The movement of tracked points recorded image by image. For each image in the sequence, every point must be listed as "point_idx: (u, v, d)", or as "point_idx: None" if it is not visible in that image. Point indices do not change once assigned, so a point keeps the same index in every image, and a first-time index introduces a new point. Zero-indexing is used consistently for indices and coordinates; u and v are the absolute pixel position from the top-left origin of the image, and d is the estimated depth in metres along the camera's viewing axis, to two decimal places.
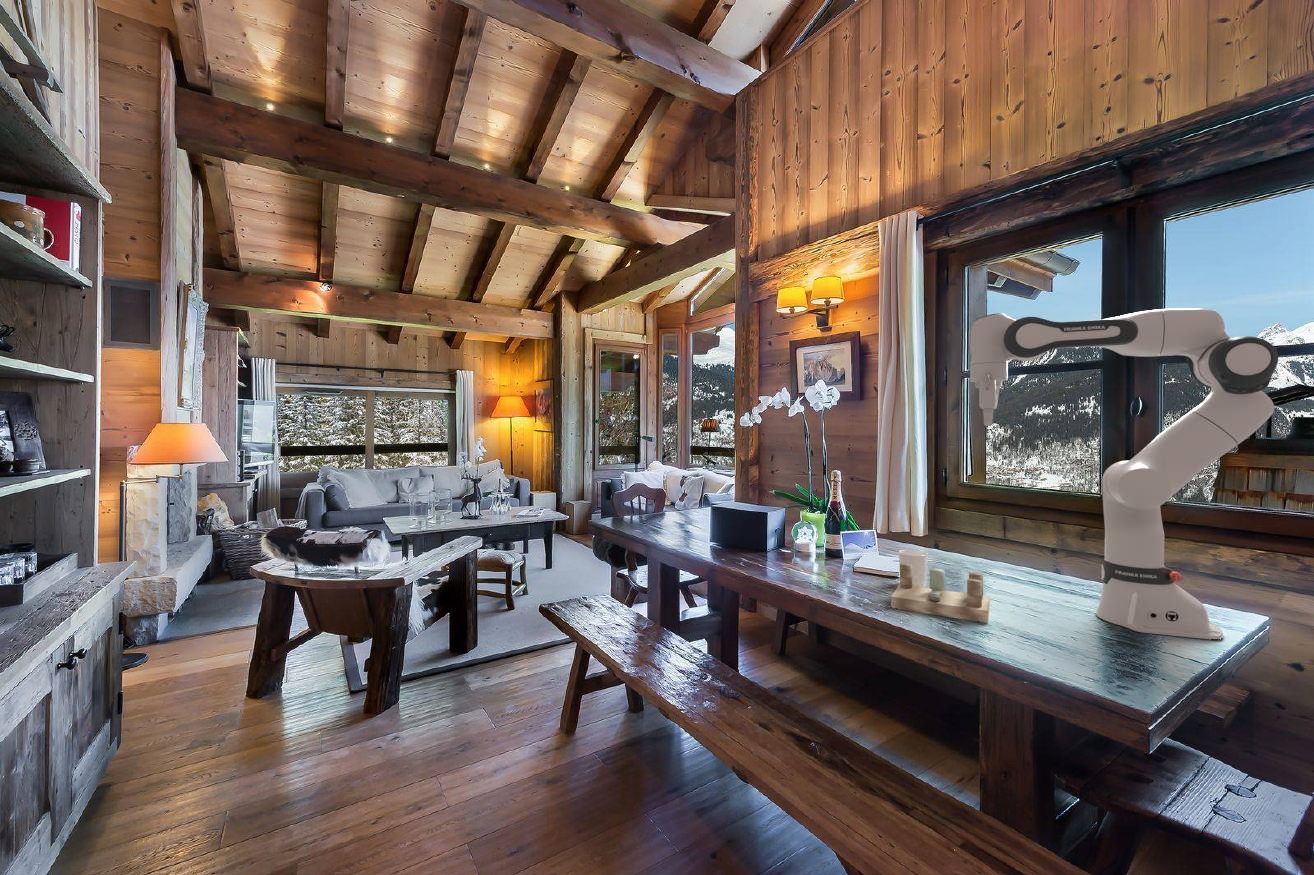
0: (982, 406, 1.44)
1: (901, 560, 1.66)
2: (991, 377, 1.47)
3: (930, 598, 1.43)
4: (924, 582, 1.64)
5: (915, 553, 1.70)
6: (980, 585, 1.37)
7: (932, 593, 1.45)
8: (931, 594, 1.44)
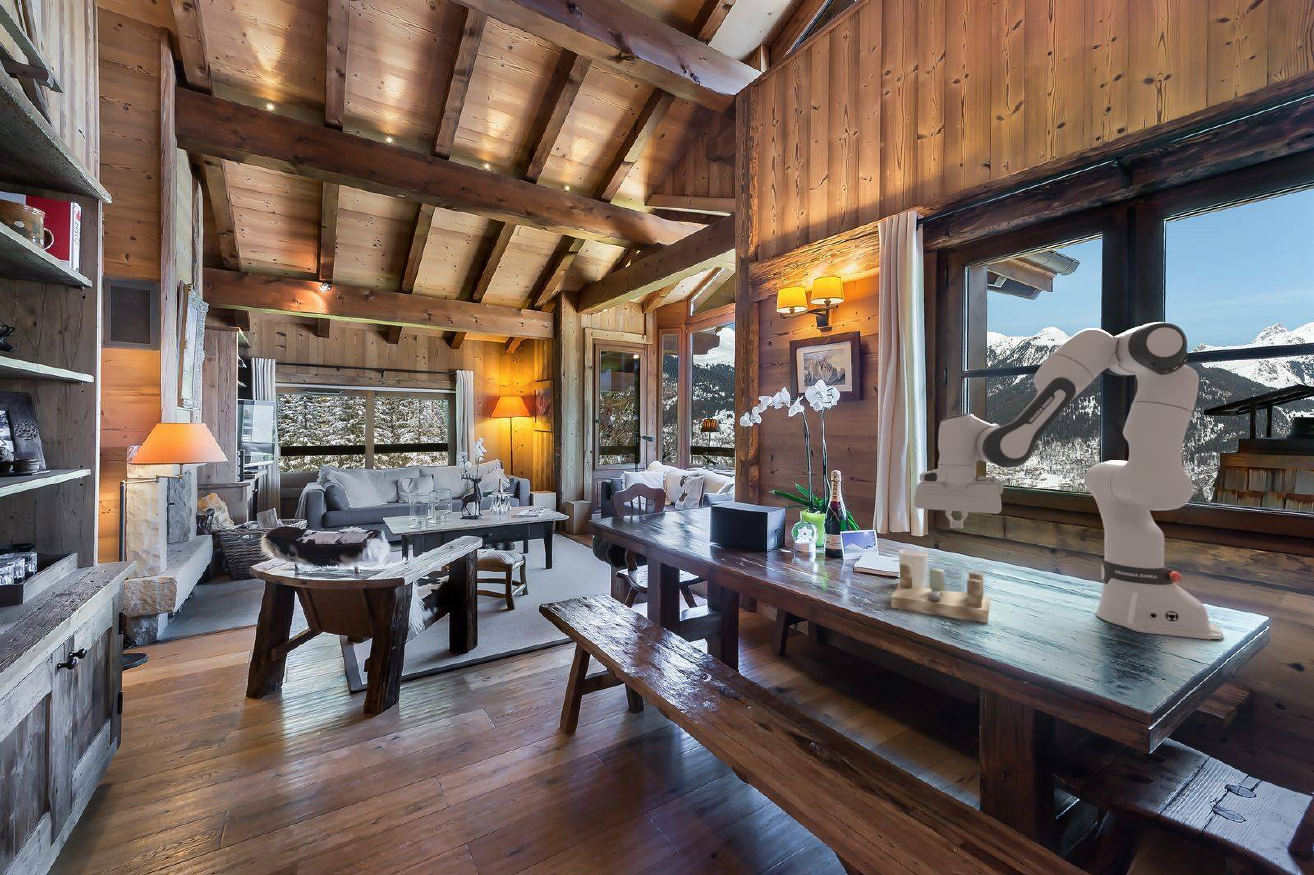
0: None
1: (901, 560, 1.66)
2: None
3: (930, 598, 1.43)
4: (924, 582, 1.64)
5: (915, 553, 1.70)
6: (980, 585, 1.37)
7: (932, 593, 1.45)
8: (931, 594, 1.44)
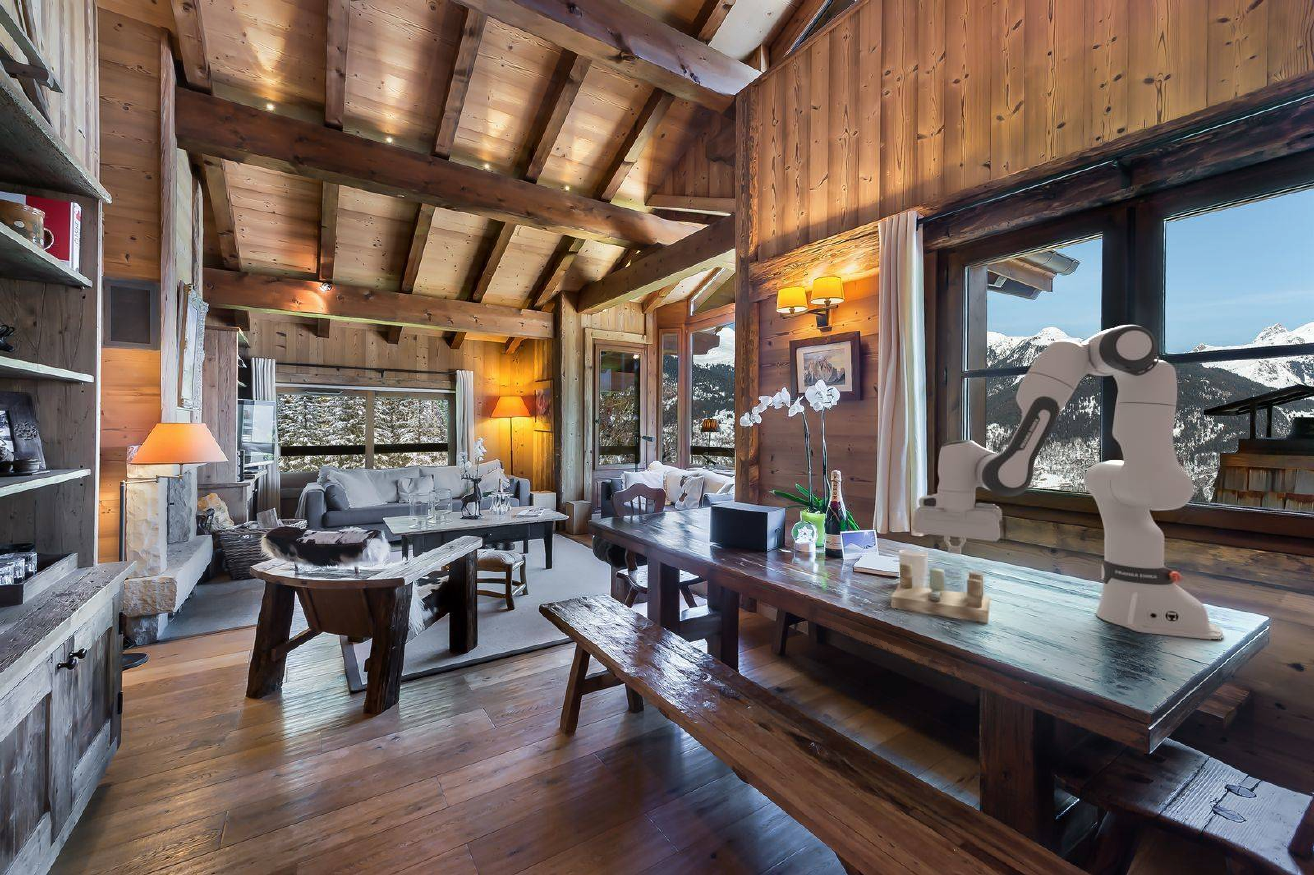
0: (997, 539, 1.40)
1: (901, 560, 1.66)
2: None
3: (930, 598, 1.43)
4: (924, 582, 1.64)
5: (915, 553, 1.70)
6: (980, 585, 1.37)
7: (932, 593, 1.45)
8: (931, 594, 1.44)
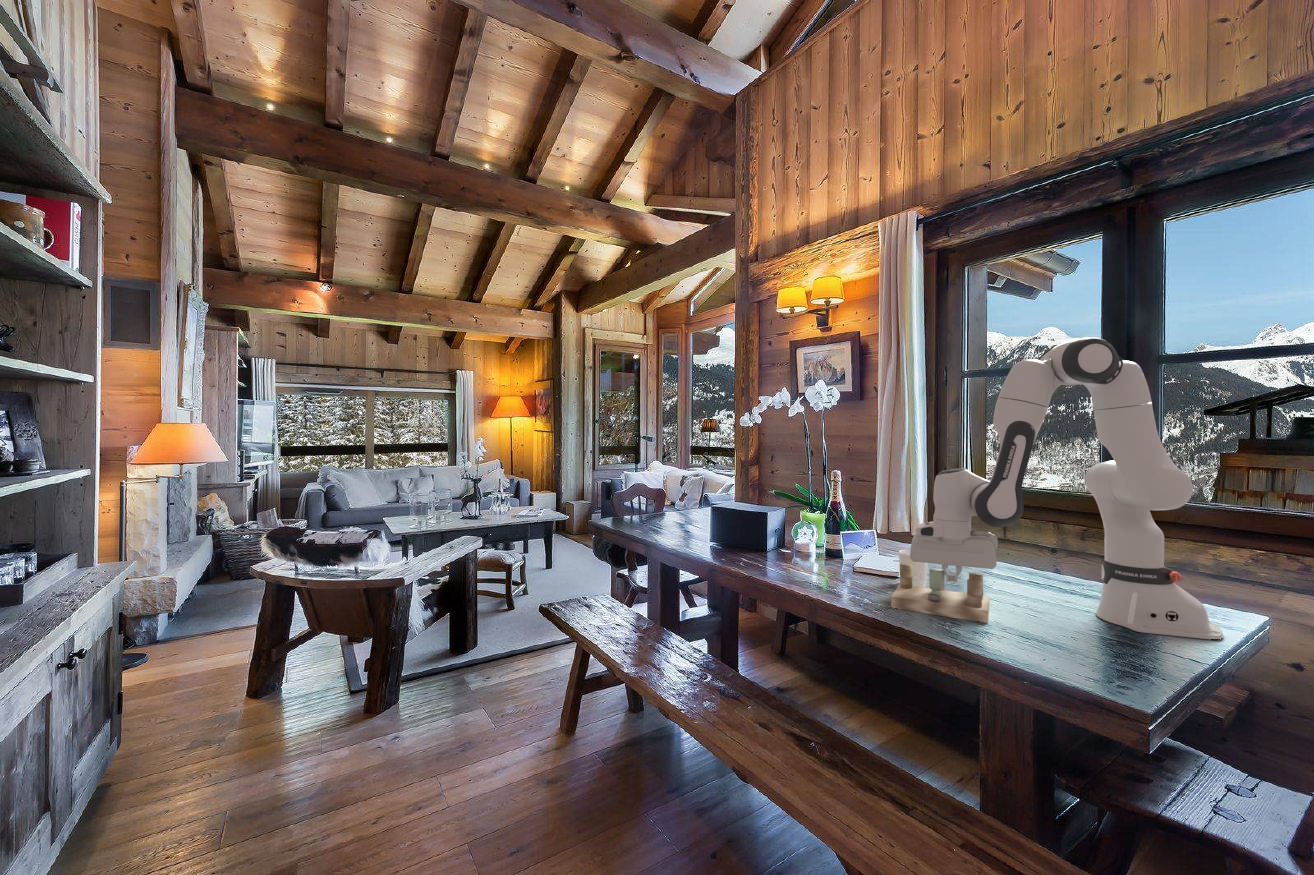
0: (994, 567, 1.42)
1: (901, 560, 1.66)
2: None
3: (930, 598, 1.43)
4: (924, 582, 1.64)
5: None
6: (980, 585, 1.37)
7: (932, 593, 1.45)
8: (931, 594, 1.44)
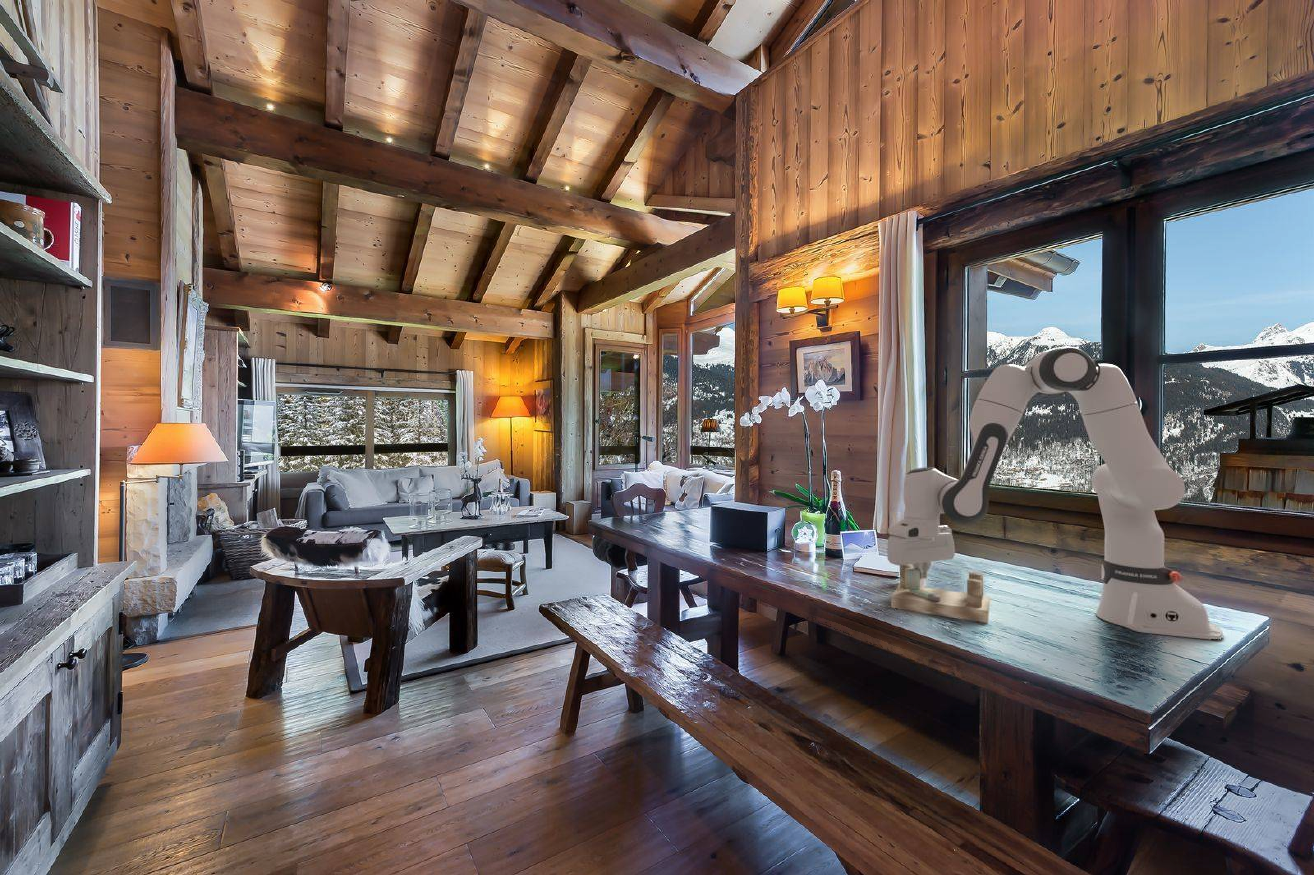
0: None
1: None
2: None
3: (935, 599, 1.42)
4: (924, 582, 1.64)
5: None
6: (980, 585, 1.37)
7: (927, 593, 1.44)
8: (930, 595, 1.43)
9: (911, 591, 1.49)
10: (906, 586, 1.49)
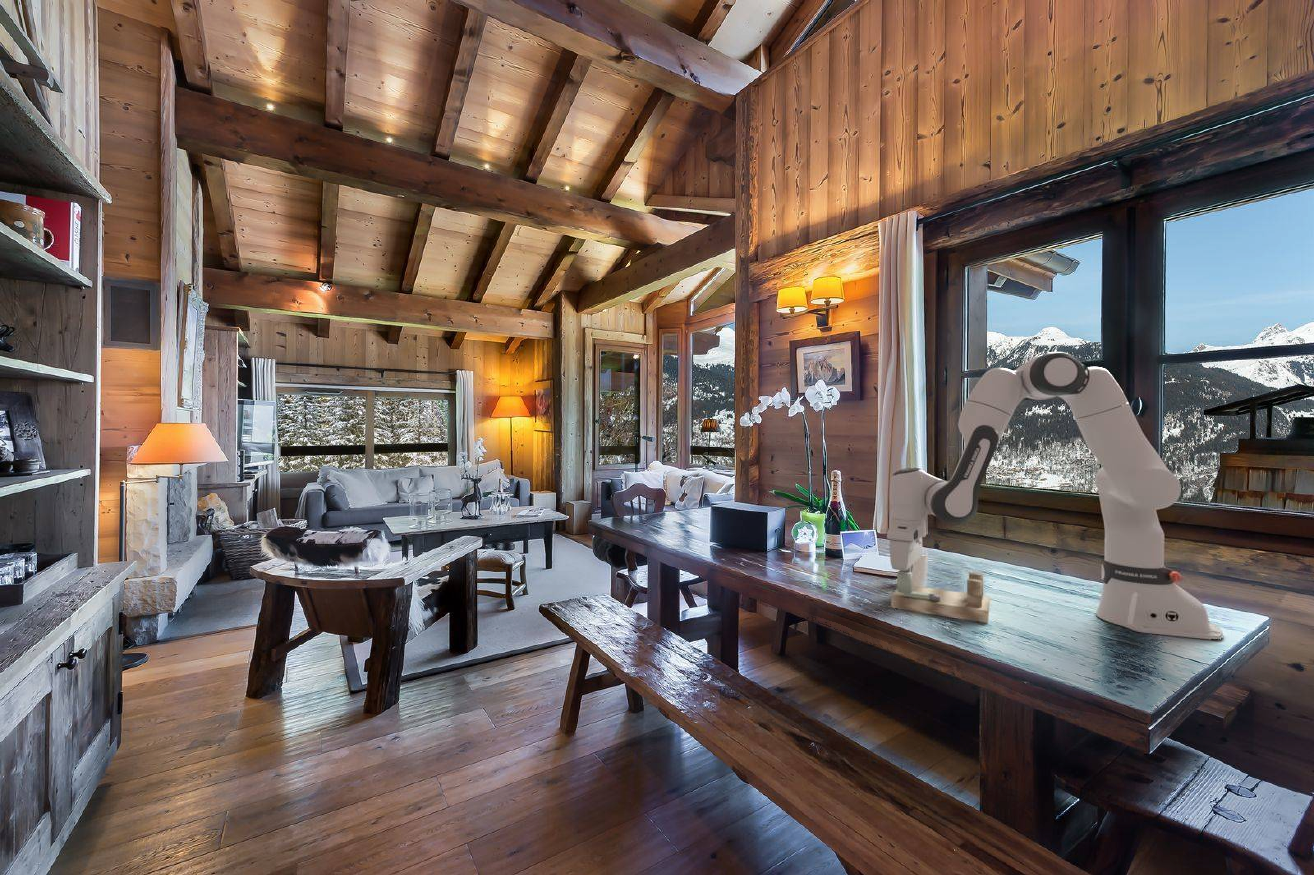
0: None
1: None
2: None
3: (938, 599, 1.42)
4: (924, 582, 1.64)
5: None
6: (980, 585, 1.37)
7: (927, 595, 1.43)
8: (931, 595, 1.43)
9: (906, 595, 1.46)
10: (902, 590, 1.45)
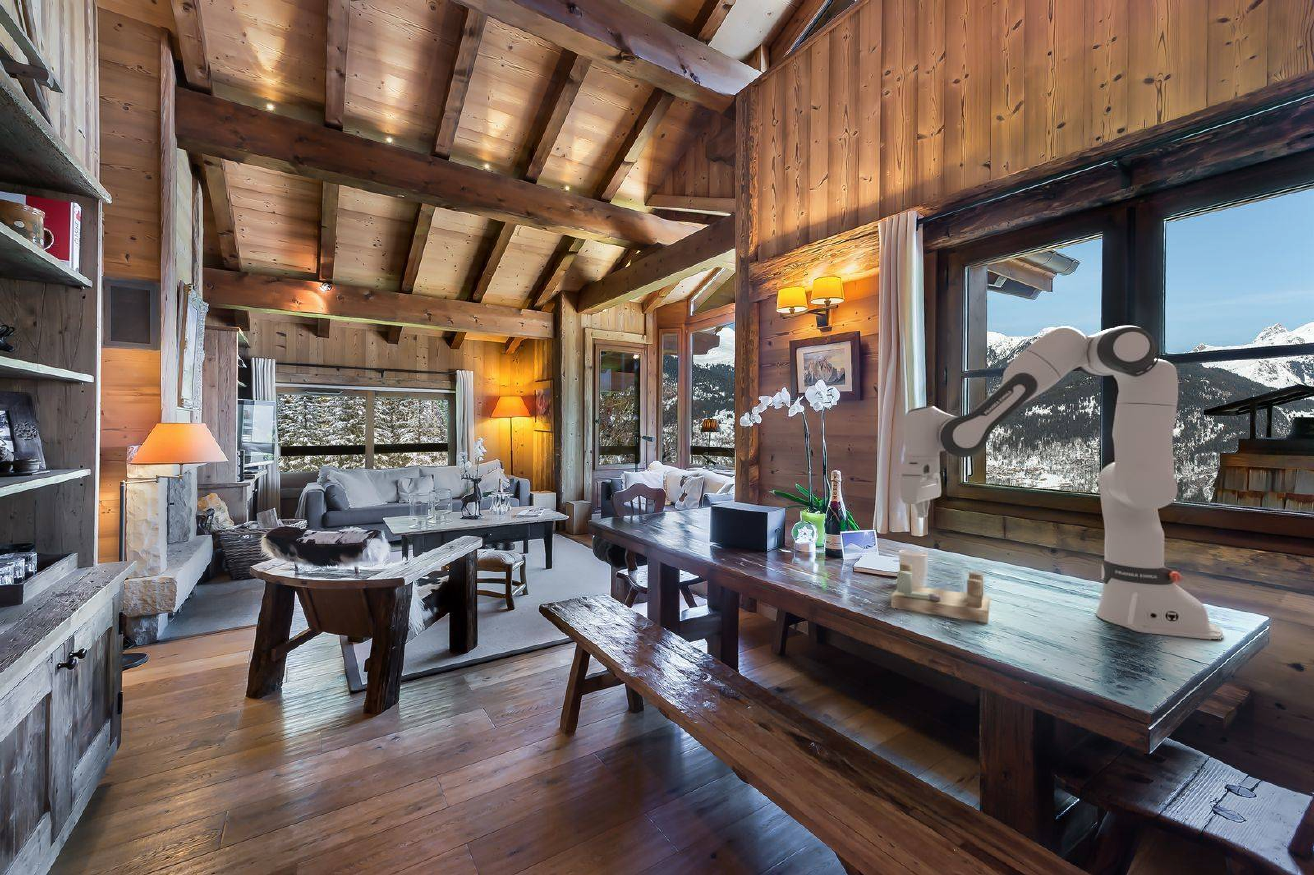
0: None
1: (901, 560, 1.66)
2: None
3: (938, 599, 1.42)
4: (924, 582, 1.64)
5: (915, 553, 1.70)
6: (980, 585, 1.37)
7: (927, 595, 1.43)
8: (931, 595, 1.43)
9: (906, 595, 1.45)
10: (902, 590, 1.45)
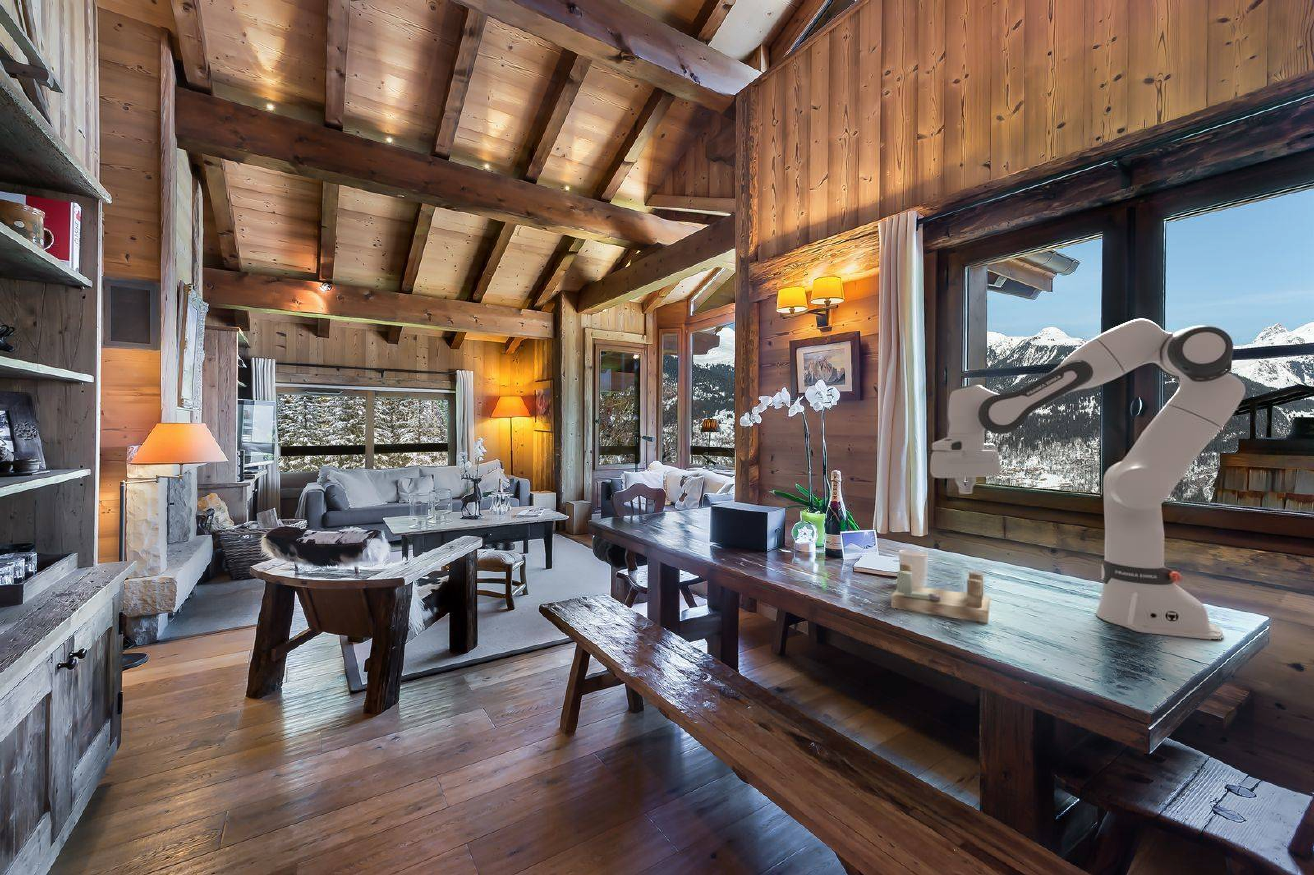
0: None
1: (901, 560, 1.66)
2: None
3: (938, 599, 1.42)
4: (924, 582, 1.64)
5: (915, 553, 1.70)
6: (980, 585, 1.37)
7: (927, 595, 1.43)
8: (931, 595, 1.43)
9: (906, 595, 1.45)
10: (902, 590, 1.45)
